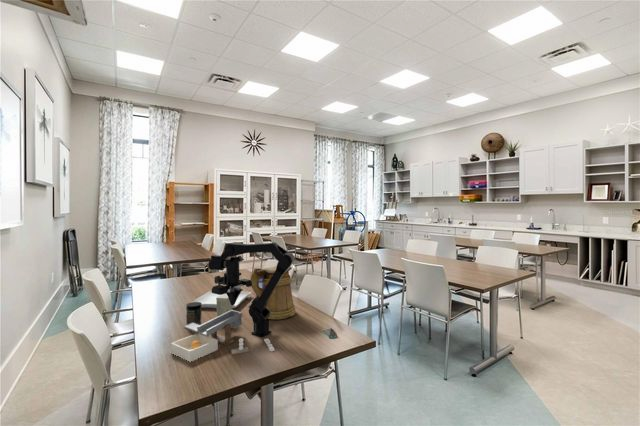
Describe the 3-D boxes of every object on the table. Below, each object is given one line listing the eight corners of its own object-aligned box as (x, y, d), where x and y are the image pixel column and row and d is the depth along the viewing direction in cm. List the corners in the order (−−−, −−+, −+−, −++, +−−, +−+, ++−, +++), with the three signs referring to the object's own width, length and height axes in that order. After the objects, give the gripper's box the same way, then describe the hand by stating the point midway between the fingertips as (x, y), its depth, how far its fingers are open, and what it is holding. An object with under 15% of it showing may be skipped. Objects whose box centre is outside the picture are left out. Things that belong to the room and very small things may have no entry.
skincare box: (232, 320, 156) (232, 296, 156) (227, 323, 152) (227, 298, 151) (221, 319, 158) (221, 294, 157) (216, 322, 153) (216, 297, 153)
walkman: (257, 297, 195) (257, 278, 195) (256, 296, 198) (256, 277, 197) (269, 296, 198) (269, 277, 198) (268, 294, 201) (268, 276, 200)
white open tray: (217, 349, 125) (217, 339, 124) (189, 362, 114) (189, 351, 114) (198, 342, 131) (198, 332, 131) (170, 353, 121) (170, 343, 121)
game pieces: (233, 359, 118) (233, 344, 118) (228, 345, 130) (228, 331, 130) (340, 340, 135) (340, 327, 135) (328, 329, 147) (328, 317, 147)
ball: (195, 353, 121) (203, 348, 124) (193, 344, 121) (201, 340, 123) (189, 350, 123) (197, 345, 126) (188, 342, 123) (196, 337, 125)
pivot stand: (216, 335, 138) (216, 318, 138) (233, 341, 132) (233, 324, 132) (208, 338, 135) (208, 321, 134) (225, 345, 129) (225, 327, 128)
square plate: (252, 297, 197) (252, 291, 196) (236, 312, 169) (236, 304, 169) (210, 295, 199) (210, 289, 199) (188, 310, 172) (188, 302, 172)
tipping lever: (219, 317, 148) (218, 305, 147) (243, 325, 139) (241, 312, 138) (185, 335, 133) (183, 322, 132) (208, 344, 124) (207, 330, 124)
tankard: (299, 317, 160) (300, 269, 160) (252, 323, 152) (253, 272, 152) (290, 307, 177) (291, 262, 177) (248, 311, 169) (248, 265, 169)
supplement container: (201, 327, 147) (201, 305, 146) (185, 329, 144) (185, 307, 144) (201, 322, 153) (201, 301, 153) (186, 324, 150) (186, 302, 150)
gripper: (236, 265, 154) (236, 297, 154) (203, 272, 138) (203, 307, 139) (252, 268, 148) (252, 301, 148) (220, 275, 132) (220, 312, 133)
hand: (232, 305), depth 142 cm, fingers closed
